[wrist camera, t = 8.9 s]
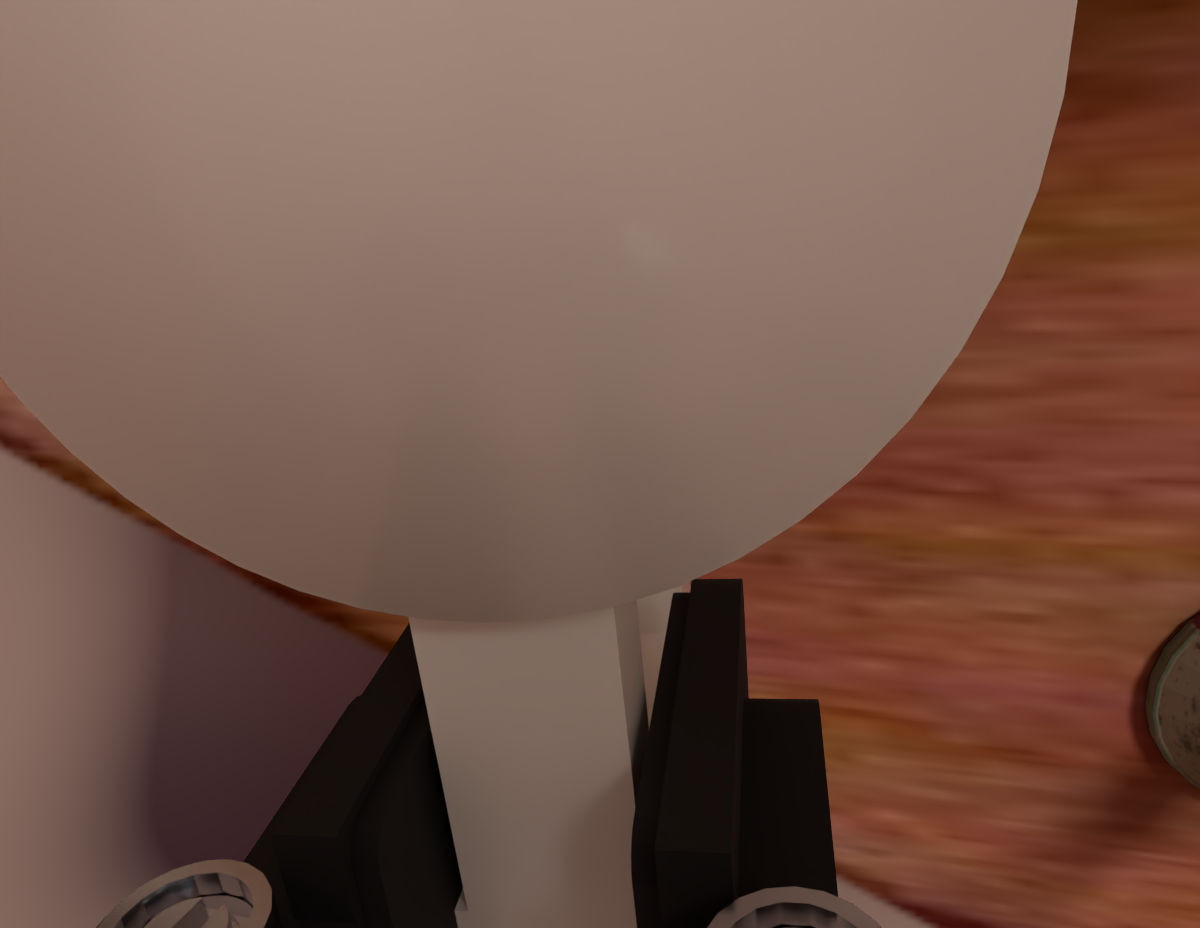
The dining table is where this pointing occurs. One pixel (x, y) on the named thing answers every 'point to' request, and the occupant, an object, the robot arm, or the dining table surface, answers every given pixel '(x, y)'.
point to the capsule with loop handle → (508, 321)
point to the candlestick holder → (1178, 702)
